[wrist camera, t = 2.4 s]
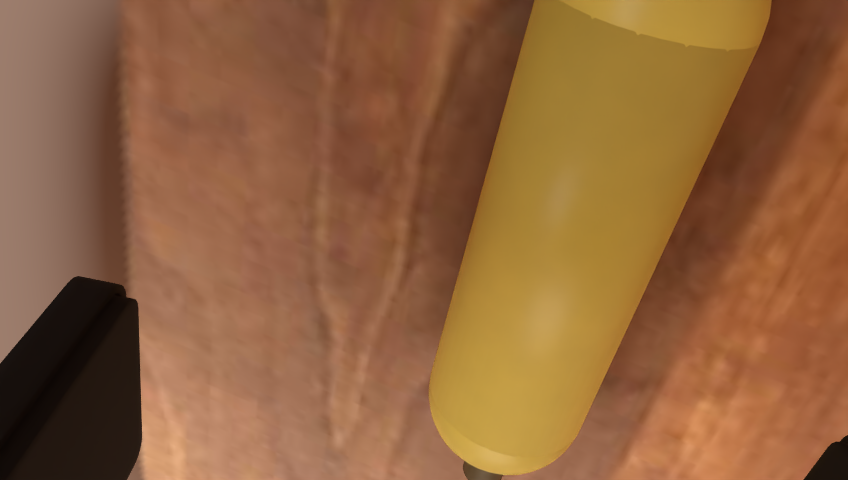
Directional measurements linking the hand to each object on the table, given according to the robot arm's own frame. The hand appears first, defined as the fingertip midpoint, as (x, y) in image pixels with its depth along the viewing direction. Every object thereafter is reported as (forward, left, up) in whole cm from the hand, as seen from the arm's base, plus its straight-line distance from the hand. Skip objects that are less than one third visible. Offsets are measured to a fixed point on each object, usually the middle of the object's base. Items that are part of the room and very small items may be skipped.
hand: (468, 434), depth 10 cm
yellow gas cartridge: (0, 0, -6) cm, 6 cm away
